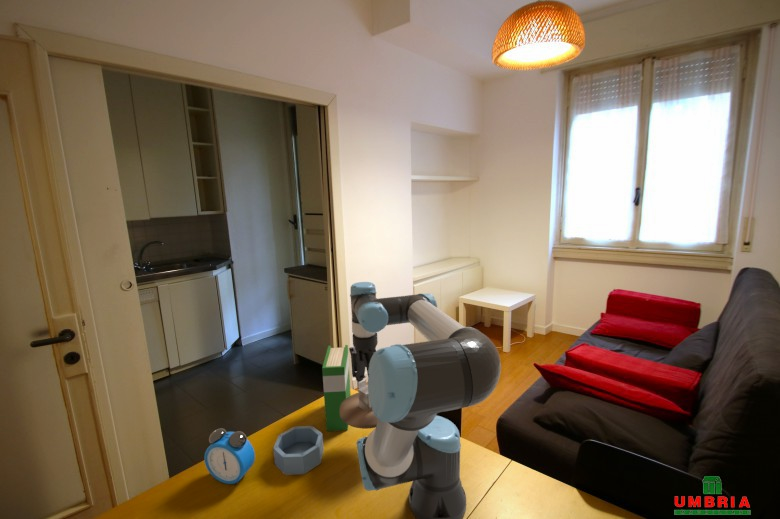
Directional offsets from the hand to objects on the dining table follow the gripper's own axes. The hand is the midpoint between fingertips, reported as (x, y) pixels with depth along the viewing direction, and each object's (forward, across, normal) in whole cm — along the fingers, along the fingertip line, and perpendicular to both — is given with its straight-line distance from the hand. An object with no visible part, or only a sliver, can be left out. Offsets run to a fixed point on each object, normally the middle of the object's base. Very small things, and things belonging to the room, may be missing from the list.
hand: (367, 402), depth 115 cm
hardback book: (+17, +22, -4) cm, 28 cm away
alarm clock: (+17, +21, +36) cm, 45 cm away
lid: (+3, 0, 0) cm, 3 cm away
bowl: (+17, +13, +18) cm, 28 cm away
